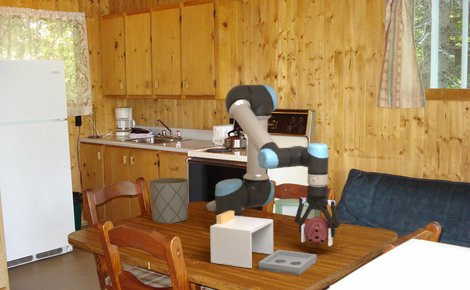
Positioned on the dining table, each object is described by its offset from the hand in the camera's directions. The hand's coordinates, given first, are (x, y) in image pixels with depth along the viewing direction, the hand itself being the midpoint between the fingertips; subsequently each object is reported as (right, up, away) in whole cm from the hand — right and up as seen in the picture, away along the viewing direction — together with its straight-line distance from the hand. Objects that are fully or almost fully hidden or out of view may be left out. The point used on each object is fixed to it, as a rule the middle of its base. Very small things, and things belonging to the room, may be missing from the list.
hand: (316, 243), depth 203 cm
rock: (-35, +2, +82) cm, 89 cm away
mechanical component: (0, -1, 0) cm, 1 cm away
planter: (-63, 0, +60) cm, 87 cm away
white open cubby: (-28, -5, -4) cm, 29 cm away
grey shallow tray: (-12, -5, -13) cm, 18 cm away
